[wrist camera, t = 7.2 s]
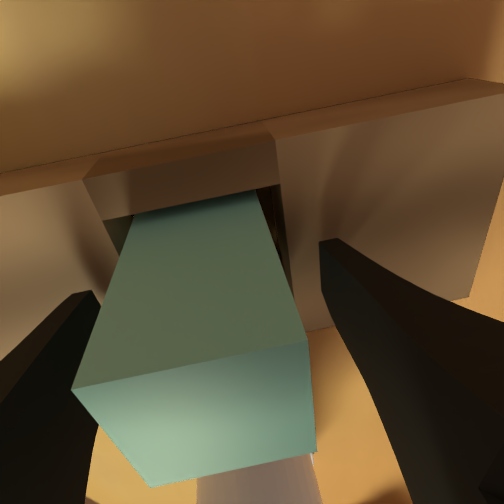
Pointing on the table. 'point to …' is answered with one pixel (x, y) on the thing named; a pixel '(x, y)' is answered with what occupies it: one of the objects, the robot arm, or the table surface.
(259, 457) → the teal peg
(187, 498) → the table surface
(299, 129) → the walnut rail
